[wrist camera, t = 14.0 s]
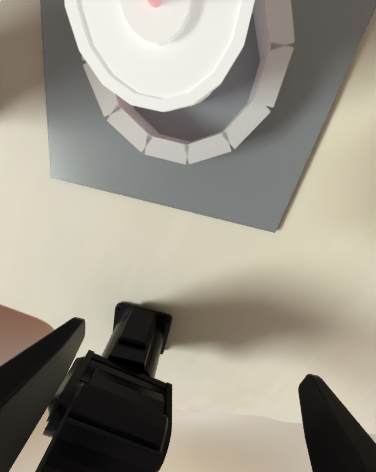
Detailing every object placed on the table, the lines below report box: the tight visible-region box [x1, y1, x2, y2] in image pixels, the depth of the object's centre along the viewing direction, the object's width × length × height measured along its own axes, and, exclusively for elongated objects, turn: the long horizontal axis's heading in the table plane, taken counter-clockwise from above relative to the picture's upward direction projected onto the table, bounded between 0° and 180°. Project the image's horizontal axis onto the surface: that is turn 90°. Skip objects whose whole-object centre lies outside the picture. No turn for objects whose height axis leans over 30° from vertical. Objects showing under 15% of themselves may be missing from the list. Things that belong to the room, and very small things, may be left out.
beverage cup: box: [64, 0, 255, 112], centre depth 9 cm, size 6×6×14 cm
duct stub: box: [40, 0, 376, 233], centre depth 14 cm, size 20×20×4 cm
